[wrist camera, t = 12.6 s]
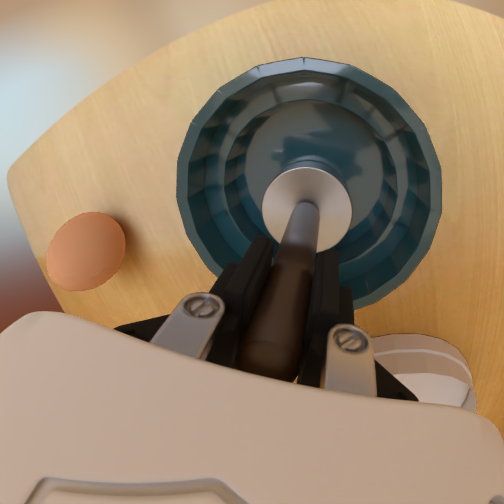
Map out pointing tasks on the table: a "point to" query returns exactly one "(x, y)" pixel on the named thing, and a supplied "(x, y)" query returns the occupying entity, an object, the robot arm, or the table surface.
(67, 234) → the egg
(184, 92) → the table surface
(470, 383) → the dish
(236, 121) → the bowl
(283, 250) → the upright rod
